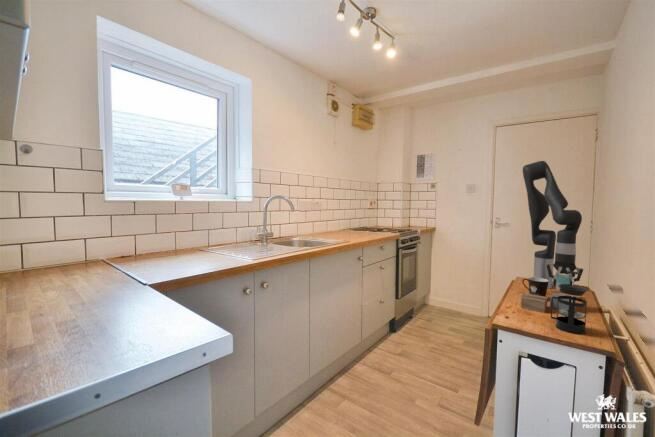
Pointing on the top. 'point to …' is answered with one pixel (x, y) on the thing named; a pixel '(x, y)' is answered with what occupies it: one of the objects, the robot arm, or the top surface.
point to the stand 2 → (560, 305)
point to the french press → (571, 308)
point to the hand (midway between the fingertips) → (563, 287)
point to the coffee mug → (537, 286)
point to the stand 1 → (534, 302)
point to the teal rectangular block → (562, 280)
